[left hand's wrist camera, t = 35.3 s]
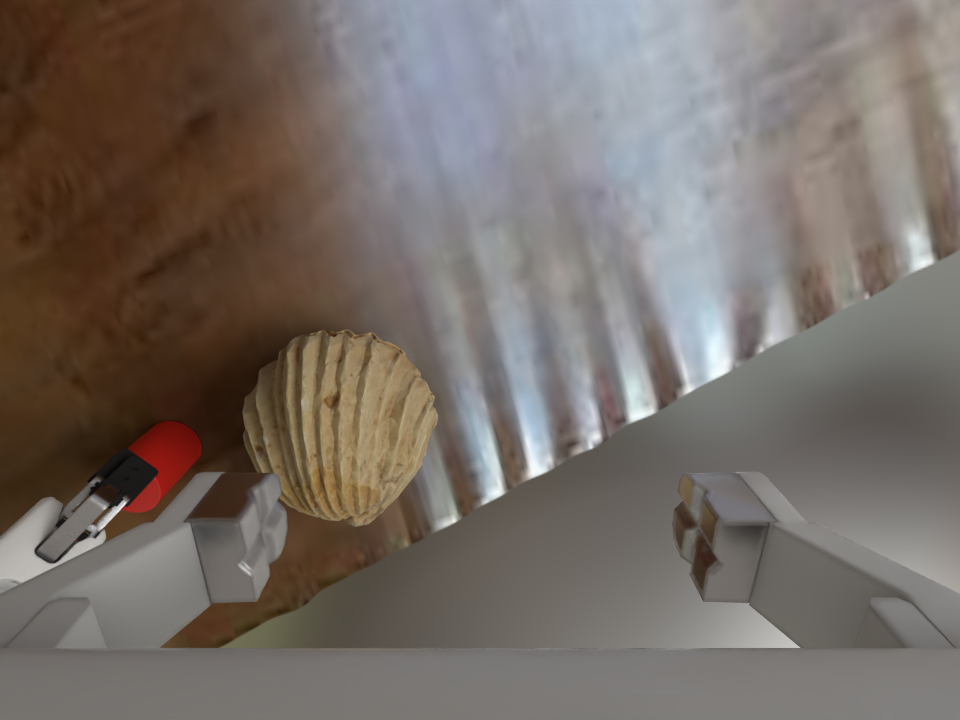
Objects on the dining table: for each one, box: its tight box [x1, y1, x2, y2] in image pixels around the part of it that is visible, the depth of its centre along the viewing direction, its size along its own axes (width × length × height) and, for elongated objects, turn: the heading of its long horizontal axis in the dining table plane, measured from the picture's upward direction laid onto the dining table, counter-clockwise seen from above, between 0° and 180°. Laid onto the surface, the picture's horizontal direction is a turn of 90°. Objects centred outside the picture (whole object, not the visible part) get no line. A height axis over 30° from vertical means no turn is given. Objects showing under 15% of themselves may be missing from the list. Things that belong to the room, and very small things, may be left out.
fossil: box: [242, 329, 438, 527], centre depth 42 cm, size 15×17×15 cm
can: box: [121, 421, 202, 513], centre depth 48 cm, size 5×5×7 cm
